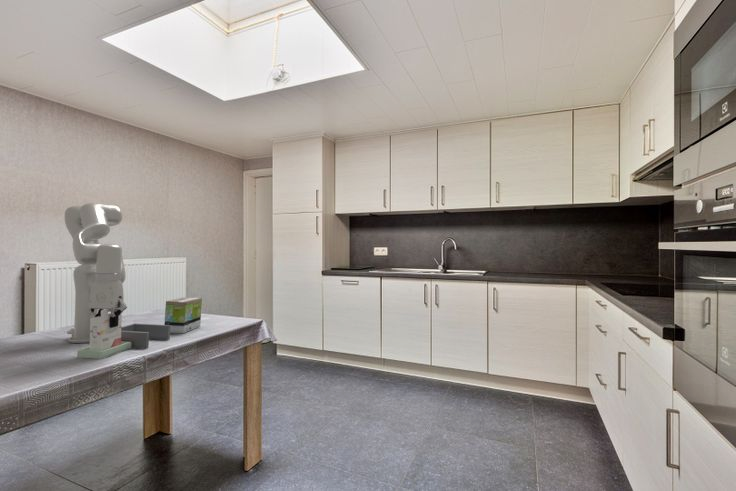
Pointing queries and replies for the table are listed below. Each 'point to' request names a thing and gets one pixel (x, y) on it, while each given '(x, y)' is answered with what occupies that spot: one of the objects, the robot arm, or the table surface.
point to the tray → (103, 351)
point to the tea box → (183, 314)
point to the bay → (144, 334)
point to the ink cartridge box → (104, 332)
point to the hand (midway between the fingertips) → (106, 326)
